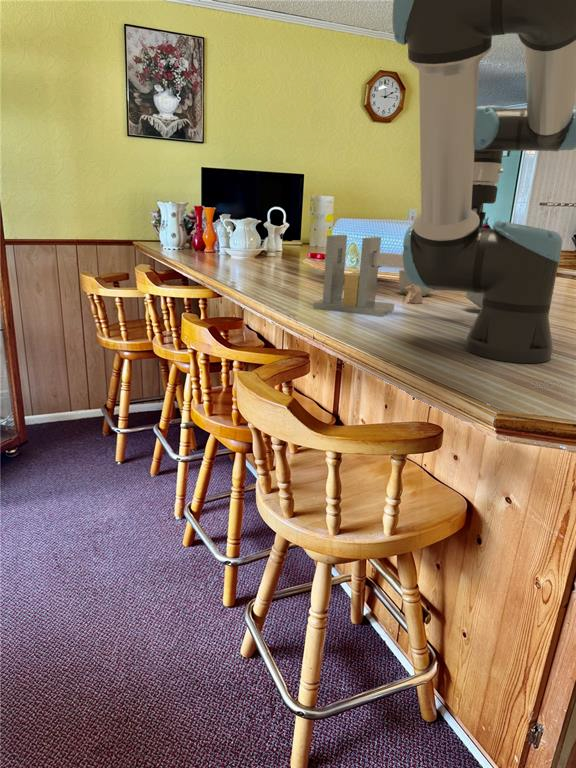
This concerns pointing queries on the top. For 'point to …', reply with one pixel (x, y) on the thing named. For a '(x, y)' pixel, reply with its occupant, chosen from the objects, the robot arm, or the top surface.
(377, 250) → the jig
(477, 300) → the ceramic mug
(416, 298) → the mouse figurine
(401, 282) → the teacup
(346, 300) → the tan block
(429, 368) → the top surface
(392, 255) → the shaft
